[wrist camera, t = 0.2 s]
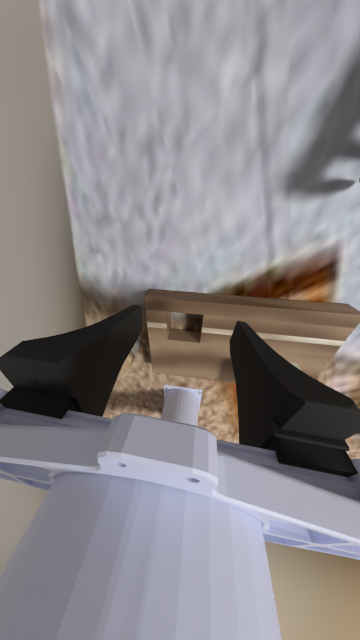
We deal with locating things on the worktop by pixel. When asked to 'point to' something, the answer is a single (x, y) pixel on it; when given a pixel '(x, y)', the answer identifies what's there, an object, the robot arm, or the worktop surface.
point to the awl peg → (129, 359)
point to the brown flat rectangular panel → (260, 314)
